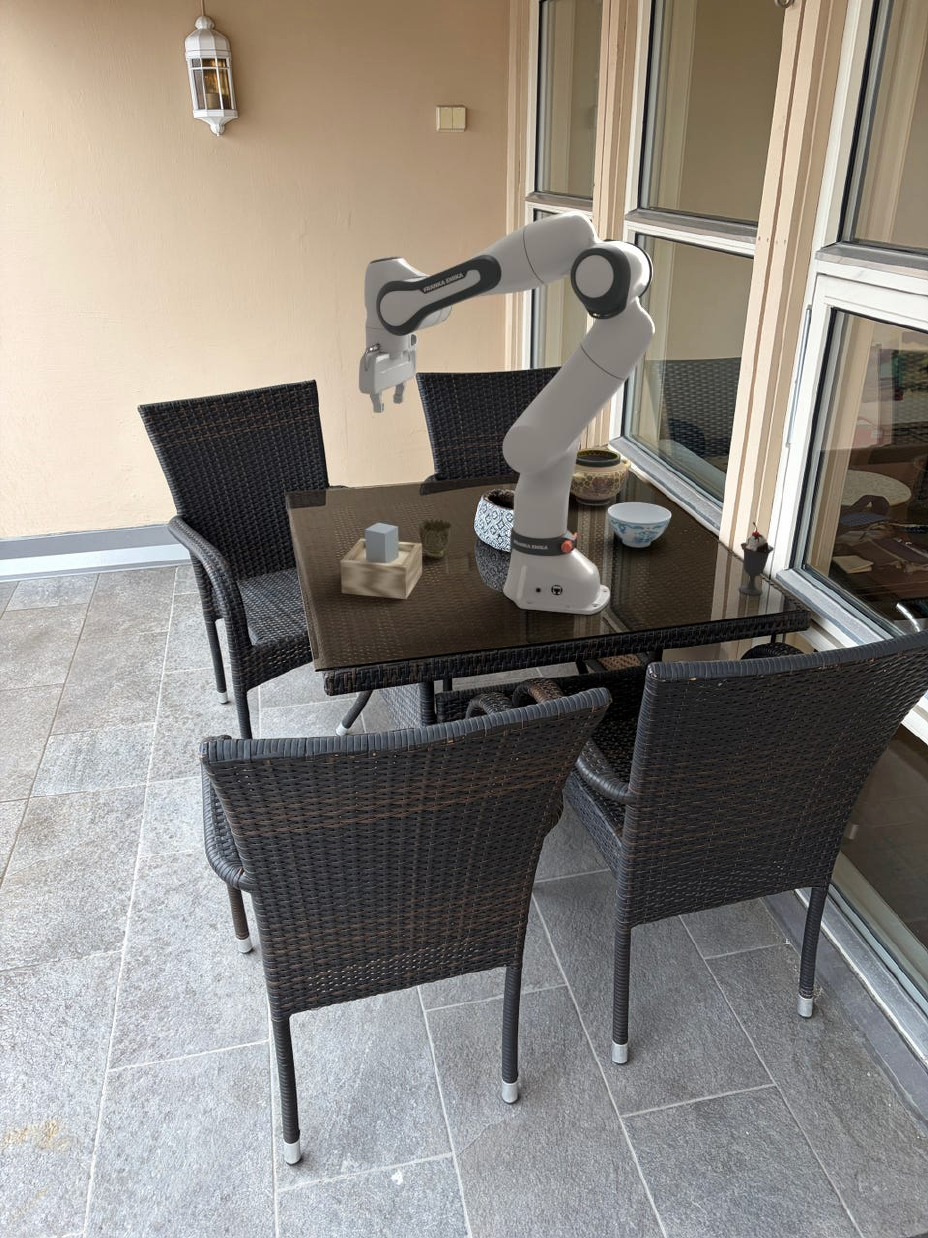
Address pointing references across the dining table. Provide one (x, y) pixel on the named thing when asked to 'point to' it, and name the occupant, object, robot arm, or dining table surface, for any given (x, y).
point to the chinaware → (638, 522)
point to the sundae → (754, 560)
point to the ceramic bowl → (598, 475)
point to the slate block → (381, 543)
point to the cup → (435, 537)
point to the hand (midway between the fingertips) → (388, 407)
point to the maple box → (381, 572)
